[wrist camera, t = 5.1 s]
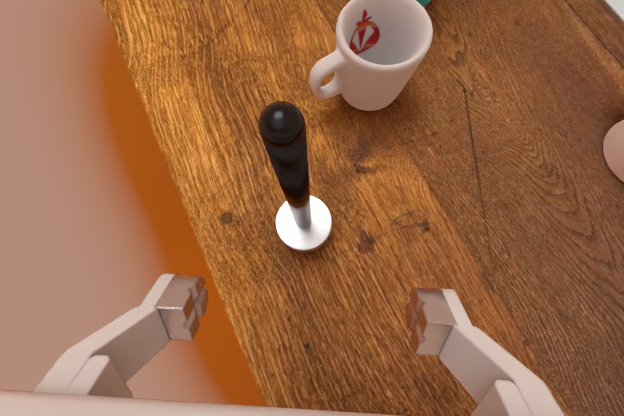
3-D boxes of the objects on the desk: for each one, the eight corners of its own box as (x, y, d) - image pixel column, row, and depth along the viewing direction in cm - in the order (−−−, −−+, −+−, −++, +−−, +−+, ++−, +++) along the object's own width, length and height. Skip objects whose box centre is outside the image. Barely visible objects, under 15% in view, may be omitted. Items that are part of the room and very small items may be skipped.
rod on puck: (333, 250, 27) (383, 190, 7) (281, 255, 27) (189, 210, 7) (327, 199, 28) (356, 29, 8) (277, 204, 28) (187, 45, 8)
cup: (328, 144, 30) (332, 98, 22) (295, 84, 31) (289, 21, 23) (417, 103, 31) (452, 45, 23) (381, 46, 32) (403, -26, 24)
